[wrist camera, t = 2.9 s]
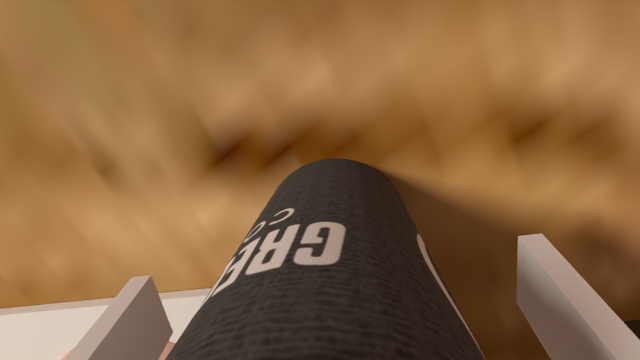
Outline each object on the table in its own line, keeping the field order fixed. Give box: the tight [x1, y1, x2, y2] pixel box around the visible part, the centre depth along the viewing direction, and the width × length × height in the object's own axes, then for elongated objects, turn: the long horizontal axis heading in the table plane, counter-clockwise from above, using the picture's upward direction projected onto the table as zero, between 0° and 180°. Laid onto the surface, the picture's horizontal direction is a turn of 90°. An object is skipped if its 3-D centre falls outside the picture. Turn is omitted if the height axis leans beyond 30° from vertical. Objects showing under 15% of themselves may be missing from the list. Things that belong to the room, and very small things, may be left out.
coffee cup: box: [165, 159, 486, 360], centre depth 12 cm, size 10×10×15 cm
